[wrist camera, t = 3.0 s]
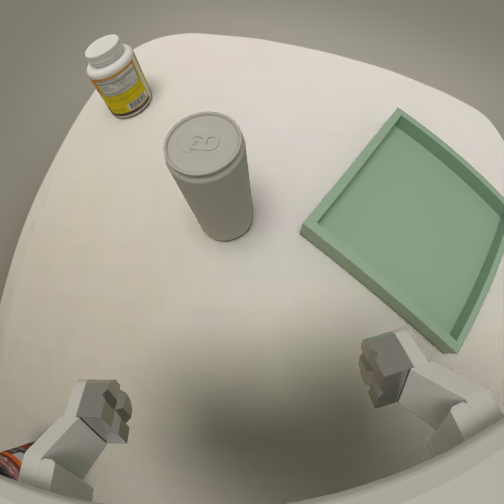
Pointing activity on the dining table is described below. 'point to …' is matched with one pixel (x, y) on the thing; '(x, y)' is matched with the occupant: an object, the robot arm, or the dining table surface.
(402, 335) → the robot arm
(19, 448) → the supplement bottle
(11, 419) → the dining table surface
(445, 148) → the green tray
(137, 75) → the supplement bottle
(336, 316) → the dining table surface
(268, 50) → the dining table surface
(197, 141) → the beverage can
